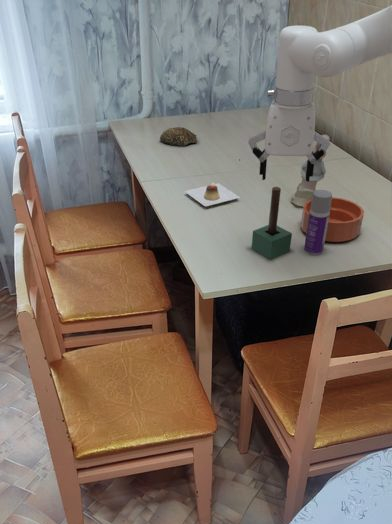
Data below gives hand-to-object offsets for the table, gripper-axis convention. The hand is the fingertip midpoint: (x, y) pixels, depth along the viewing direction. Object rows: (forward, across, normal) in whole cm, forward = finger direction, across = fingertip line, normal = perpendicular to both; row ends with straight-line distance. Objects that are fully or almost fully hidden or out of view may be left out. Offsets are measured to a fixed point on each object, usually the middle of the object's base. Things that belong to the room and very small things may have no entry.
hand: (285, 178), depth 121 cm
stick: (+20, -2, +4) cm, 20 cm away
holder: (+20, -2, +3) cm, 20 cm away
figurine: (+20, +8, +33) cm, 39 cm away
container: (+20, +9, +4) cm, 22 cm away
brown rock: (+18, -36, +80) cm, 89 cm away
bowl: (+20, +14, +16) cm, 29 cm away
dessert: (+19, -20, +32) cm, 42 cm away
